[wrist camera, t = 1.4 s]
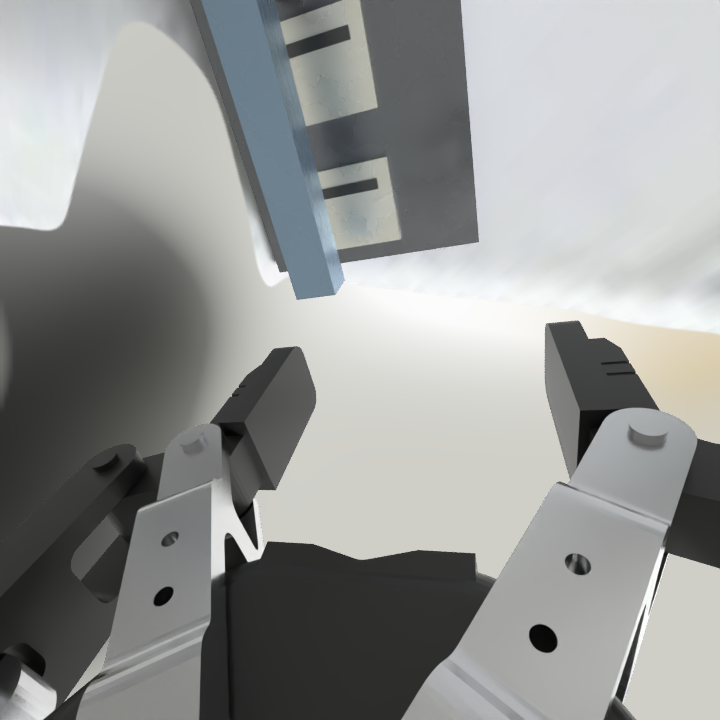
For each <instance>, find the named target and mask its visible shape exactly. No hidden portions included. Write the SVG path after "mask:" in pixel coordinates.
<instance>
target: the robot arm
mask: <svg viewBox="0 0 720 720" xmlns="http://www.w3.org/2000/svg"><path fill="white" fill-rule="evenodd" d="M545 386H546V393H547V398H548V402H549V405H550V409H551V413H552V416H553V420H554V423H555V427H556V430H557V434H558V438H559V441H560V445H561V448H562V452H563V456H564V459H565V463H566V466H567V470H568V473H569V477H570V481H569V483H568V484H565V483H562V482H557V483H556V484H555V485H554V486H553V487H552V488H551V490H550V491H549V493H548V495H547V496H546V498H545V500H544V501H543V503H542V505H541V506H540V508H539V510H538V511H537V513H536V515H535V517H534V518H533V520H532V521H531V523H530V525H529V526H528V528H527V530H526V531H525V533H524V535H523V537H522V538H521V540H520V542H519V543H518V545H517V547H516V548H515V550H514V552H513V553H512V555H511V557H510V558H509V560H508V562H507V563H506V565H505V567H504V568H503V570H502V572H501V574H500V575H499V577H498V579H497V580H496V579H494V578H492V577H489V576H487V575H484V574H481V573H478V571H477V564H476V556H475V553H457V552H440V551H422V550H417V551H411V552H406V553H401V554H395V555H390V556H384V557H378V558H374V559H368V560H357V559H354V558H351V557H349V556H345V555H343V554H340V553H337V552H334V551H331V550H328V549H326V548H323V547H320V546H317V545H314V544H303V543H285V542H267V545H266V547H265V549H264V544H263V536H262V528H261V520H260V513H259V506H258V503H257V501H256V499H255V495H256V492H257V491H258V490H276V488H277V486H278V484H279V482H280V480H281V478H282V475H283V473H284V471H285V469H286V467H287V465H288V463H289V461H290V459H291V457H292V454H293V452H294V450H295V448H296V446H297V444H298V442H299V440H300V438H301V436H302V433H303V431H304V429H305V427H306V425H307V423H308V421H309V418H310V416H311V414H312V412H313V410H314V408H315V404H316V391H315V387H314V384H313V381H312V378H311V375H310V372H309V369H308V366H307V363H306V360H305V357H304V354H303V352H302V350H301V348H300V347H297V346H296V347H285V348H275V349H273V350H272V351H271V353H270V354H269V356H268V357H267V358H266V359H265V361H264V362H263V363H262V365H260V366H259V367H257V368H256V369H255V370H253V371H252V372H251V373H249V374H248V375H247V376H246V377H245V378H244V380H243V381H242V382H241V384H240V385H239V388H237V389H236V390H235V391H234V393H233V394H232V397H230V398H229V399H228V400H227V402H226V403H225V404H224V406H223V407H222V408H221V410H220V411H219V412H218V413H217V415H216V416H215V417H214V419H213V420H212V421H211V422H210V424H201V425H197V426H194V427H192V428H189V429H188V430H185V431H184V432H182V433H180V434H179V435H178V436H176V437H175V438H174V439H173V440H172V441H171V442H170V443H169V445H168V446H167V448H166V450H165V453H161V454H157V455H153V456H150V457H146V458H142V457H141V455H140V454H139V452H138V451H137V449H136V448H135V447H134V446H133V445H130V444H122V445H118V446H114V447H112V448H109V449H107V450H105V451H103V452H101V453H99V454H98V455H96V456H95V457H93V458H92V459H91V460H89V461H88V462H87V463H86V464H85V465H84V466H83V467H82V468H81V469H79V471H77V472H76V473H75V474H74V475H73V476H72V477H71V478H70V479H69V480H68V481H66V483H64V484H63V485H62V486H61V487H60V488H59V489H58V490H57V491H56V492H55V493H53V495H51V496H50V497H49V498H48V499H47V500H46V501H45V502H44V503H43V504H42V505H40V506H39V507H38V508H37V509H36V510H35V511H34V512H33V513H32V514H31V515H30V516H29V517H27V518H26V519H25V520H24V521H23V522H22V523H21V524H20V525H19V526H18V527H17V528H16V529H14V531H12V532H11V533H10V534H9V535H8V536H7V537H6V538H5V539H4V540H3V541H1V542H0V720H636V719H635V718H634V717H633V716H632V714H631V713H630V712H629V711H628V710H627V709H626V707H625V706H624V705H623V704H624V701H625V698H626V694H627V691H628V688H629V685H630V681H631V678H632V675H633V672H634V668H635V665H636V661H637V658H638V654H639V651H640V647H641V644H642V640H643V636H644V633H645V630H646V626H647V623H648V620H649V616H650V614H651V610H652V607H653V604H654V600H655V598H656V594H657V591H658V588H659V585H660V582H661V578H662V575H663V572H664V569H665V565H666V562H667V559H668V556H669V553H670V554H673V555H677V556H680V557H684V558H687V559H690V560H694V561H697V562H700V563H704V564H707V565H710V566H714V567H717V568H720V444H715V443H711V442H707V441H704V440H700V439H698V438H697V437H696V434H695V432H694V431H693V430H692V428H691V427H690V426H689V425H687V424H686V423H685V422H684V421H682V420H681V419H679V418H677V417H675V416H673V415H670V414H668V413H665V412H662V411H660V410H659V408H658V407H657V405H656V404H655V402H654V400H653V399H652V397H651V396H650V394H649V392H648V391H647V389H646V388H645V386H644V384H643V383H642V381H641V380H640V378H639V376H638V375H637V374H636V373H635V370H634V368H633V367H632V365H631V364H630V363H629V360H628V359H627V357H626V356H625V354H624V352H623V351H622V349H621V348H620V347H618V346H617V345H615V344H613V343H612V342H610V341H608V340H607V339H605V338H597V339H588V337H587V335H586V333H585V331H584V329H583V327H582V326H581V324H580V322H579V321H568V322H557V323H547V324H546V327H545ZM105 517H107V519H108V520H109V521H110V522H111V524H112V525H113V526H114V527H115V528H116V530H117V531H118V532H119V534H120V535H119V536H118V537H117V538H116V540H115V541H114V542H113V543H112V544H111V545H110V547H109V548H108V549H107V550H106V552H105V553H104V554H103V555H102V556H101V558H100V559H99V560H98V561H97V562H96V563H95V565H94V566H93V567H92V568H91V569H90V571H89V572H88V573H87V574H86V575H85V577H84V578H83V579H82V580H81V581H80V580H79V579H78V578H77V577H76V576H75V575H74V574H73V572H72V570H71V559H72V556H73V554H74V552H75V550H76V549H77V548H78V547H79V546H80V545H81V543H82V542H83V541H84V540H85V539H86V538H87V537H88V536H89V535H90V534H91V532H92V531H93V530H94V529H95V528H96V527H97V526H98V524H100V522H101V521H102V520H103V519H104V518H105ZM109 636H110V639H109V644H108V649H107V653H106V658H105V662H104V665H103V668H102V670H101V672H100V673H99V674H98V675H97V676H96V677H94V678H93V679H92V680H91V681H90V682H88V683H87V684H86V685H85V686H83V687H82V688H81V689H80V690H78V691H77V692H76V693H75V694H74V695H72V696H71V697H70V698H69V699H67V701H65V699H66V698H67V696H68V695H69V694H70V692H71V691H72V689H73V688H74V687H75V685H76V684H77V682H78V681H79V679H80V678H81V677H82V675H83V674H84V672H85V671H86V669H87V668H88V666H89V665H90V664H91V662H92V661H93V659H94V658H95V656H96V655H97V653H98V652H99V651H100V649H101V648H102V646H103V645H104V644H105V642H106V641H107V639H108V638H109ZM64 701H65V702H64ZM63 702H64V703H63Z"/></svg>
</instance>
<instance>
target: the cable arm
mask: <svg viewBox="0 0 720 720" xmlns="http://www.w3.org/2000/svg"><path fill="white" fill-rule="evenodd" d="M201 1H202V4H203V7H204V10H205V13H206V16H207V20H208V23H209V26H210V29H211V32H212V35H213V38H214V41H215V45H216V48H217V51H218V54H219V57H220V60H221V63H222V67H223V70H224V73H225V76H226V79H227V82H228V85H229V88H230V92H231V95H232V98H233V101H234V104H235V107H236V110H237V114H238V117H239V120H240V123H241V126H242V129H243V132H244V135H245V139H246V142H247V145H248V148H249V151H250V154H251V157H252V160H253V164H254V167H255V170H256V173H257V176H258V179H259V182H260V186H261V189H262V192H263V195H264V198H265V201H266V204H267V207H268V211H269V214H270V217H271V220H272V223H273V226H274V229H275V233H276V236H277V239H278V242H279V245H280V248H281V251H282V254H283V258H284V261H285V264H286V267H287V270H288V273H289V276H290V279H291V283H292V286H293V289H294V292H295V295H296V298H297V299H298V300H299V299H307V298H314V297H322V296H330V295H335V294H336V293H337V291H338V290H339V288H340V287H341V285H342V284H343V282H344V281H345V280H344V276H343V272H342V268H341V264H340V260H339V256H338V252H337V248H336V244H335V240H334V236H333V232H332V228H331V224H330V220H329V216H328V212H327V208H326V204H325V200H324V196H323V192H322V188H321V184H320V180H319V176H318V172H317V168H316V164H315V160H314V156H313V152H312V148H311V144H310V140H309V136H308V132H307V128H306V124H305V120H304V116H303V112H302V108H301V104H300V100H299V96H298V92H297V88H296V84H295V80H294V76H293V72H292V68H291V64H290V60H289V56H288V52H287V48H286V44H285V40H284V36H283V32H282V28H281V24H280V20H279V16H278V12H277V8H276V4H275V0H201Z"/></svg>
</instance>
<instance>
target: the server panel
mask: <svg viewBox="0 0 720 720" xmlns="http://www.w3.org/2000/svg"><path fill="white" fill-rule="evenodd" d="M190 2H191V5H192V8H193V11H194V14H195V17H196V20H197V23H198V26H199V29H200V32H201V35H202V38H203V41H204V44H205V47H206V50H207V53H208V56H209V59H210V62H211V65H212V68H213V71H214V74H215V77H216V80H217V84H218V87H219V90H220V93H221V96H222V99H223V102H224V105H225V108H226V111H227V114H228V117H229V120H230V123H231V126H232V129H233V132H234V135H235V138H236V141H237V144H238V147H239V150H240V153H241V156H242V159H243V162H244V165H245V168H246V171H247V174H248V177H249V180H250V184H251V187H252V190H253V193H254V196H255V199H256V202H257V205H258V208H259V211H260V214H261V217H262V220H263V223H264V226H265V229H266V232H267V235H268V238H269V241H270V244H271V247H272V250H273V253H274V256H275V259H276V262H277V265H278V268H279V271H280V272H286V271H288V270H287V267H286V264H285V261H284V258H283V254H282V251H281V248H280V245H279V242H278V239H277V236H276V233H275V229H274V226H273V223H272V220H271V217H270V214H269V211H268V207H267V204H266V201H265V198H264V195H263V192H262V189H261V186H260V182H259V179H258V176H257V173H256V170H255V167H254V164H253V160H252V157H251V154H250V151H249V148H248V145H247V142H246V139H245V135H244V132H243V129H242V126H241V123H240V120H239V117H238V114H237V110H236V107H235V104H234V101H233V98H232V95H231V92H230V88H229V85H228V82H227V79H226V76H225V73H224V70H223V67H222V63H221V60H220V57H219V54H218V51H217V48H216V45H215V41H214V38H213V35H212V32H211V29H210V26H209V23H208V20H207V16H206V13H205V10H204V7H203V4H202V1H201V0H190ZM275 4H276V8H277V12H278V16H279V20H280V24H281V28H282V32H283V36H284V40H285V44H286V48H287V52H288V56H289V60H290V64H291V68H292V72H293V76H294V80H295V84H296V88H297V92H298V96H299V100H300V104H301V108H302V112H303V116H304V120H305V124H306V128H307V132H308V136H309V140H310V144H311V148H312V152H313V156H314V160H315V164H316V168H317V172H318V176H319V180H320V184H321V188H322V192H323V196H324V200H325V204H326V208H327V212H328V216H329V220H330V224H331V228H332V232H333V236H334V240H335V244H336V248H337V252H338V256H339V260H340V263H345V262H351V261H358V260H365V259H371V258H378V257H384V256H391V255H397V254H404V253H410V252H417V251H423V250H430V249H436V248H443V247H450V246H456V245H463V244H469V243H476V242H479V238H478V225H477V212H476V199H475V185H474V172H473V159H472V146H471V133H470V120H469V107H468V93H467V80H466V67H465V54H464V41H463V28H462V14H461V1H460V0H275Z"/></svg>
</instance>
